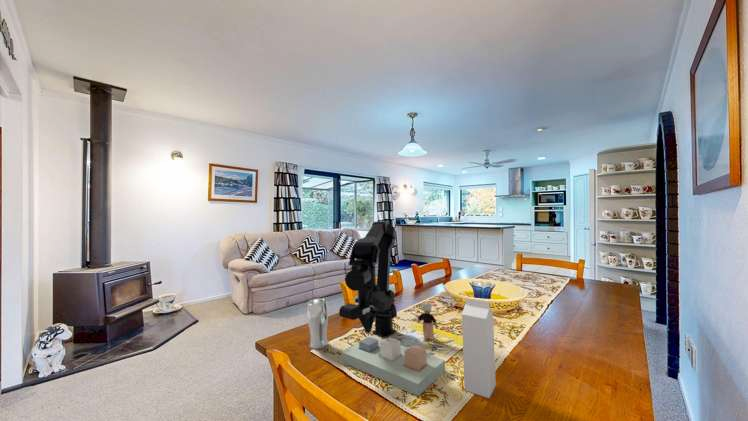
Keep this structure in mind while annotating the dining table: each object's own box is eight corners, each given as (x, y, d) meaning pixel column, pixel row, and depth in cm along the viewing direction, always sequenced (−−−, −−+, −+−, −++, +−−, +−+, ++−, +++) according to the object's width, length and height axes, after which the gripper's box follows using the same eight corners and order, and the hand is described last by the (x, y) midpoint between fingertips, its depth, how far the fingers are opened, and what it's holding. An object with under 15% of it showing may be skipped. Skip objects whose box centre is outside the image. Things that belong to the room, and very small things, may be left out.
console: (371, 344, 98) (371, 335, 98) (445, 370, 81) (444, 359, 81) (341, 361, 88) (341, 351, 88) (418, 396, 70) (418, 383, 70)
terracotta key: (413, 361, 82) (413, 345, 82) (426, 365, 79) (426, 349, 79) (405, 367, 78) (404, 351, 78) (418, 372, 76) (417, 355, 76)
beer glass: (324, 350, 95) (323, 304, 95) (305, 349, 97) (303, 304, 97) (332, 341, 102) (330, 298, 102) (313, 339, 103) (311, 297, 103)
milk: (472, 378, 77) (468, 295, 77) (496, 386, 73) (492, 298, 73) (464, 390, 72) (460, 301, 72) (489, 399, 68) (485, 305, 68)
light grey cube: (389, 352, 87) (389, 337, 87) (401, 356, 84) (400, 341, 84) (380, 358, 84) (380, 342, 84) (392, 362, 81) (391, 346, 81)
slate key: (368, 350, 93) (368, 336, 93) (378, 354, 90) (378, 340, 90) (359, 356, 89) (359, 341, 90) (369, 360, 87) (369, 345, 87)
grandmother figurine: (440, 339, 100) (439, 302, 100) (437, 344, 97) (436, 306, 97) (418, 336, 104) (417, 300, 104) (415, 340, 100) (414, 303, 100)
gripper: (365, 293, 77) (367, 351, 77) (405, 279, 92) (407, 328, 91) (337, 287, 85) (339, 340, 84) (378, 275, 99) (379, 321, 99)
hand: (368, 332), depth 90 cm, fingers closed
